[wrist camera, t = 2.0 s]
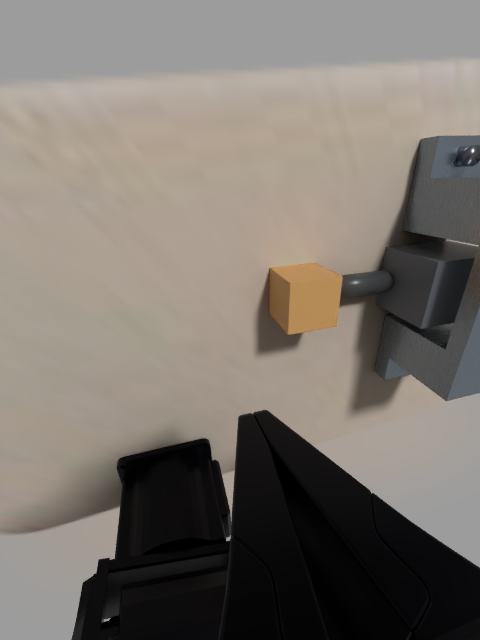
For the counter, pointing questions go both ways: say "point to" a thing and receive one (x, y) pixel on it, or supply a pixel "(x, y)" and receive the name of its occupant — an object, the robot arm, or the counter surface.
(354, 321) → the counter surface
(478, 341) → the housing
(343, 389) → the counter surface
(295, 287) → the plug
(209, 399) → the counter surface
